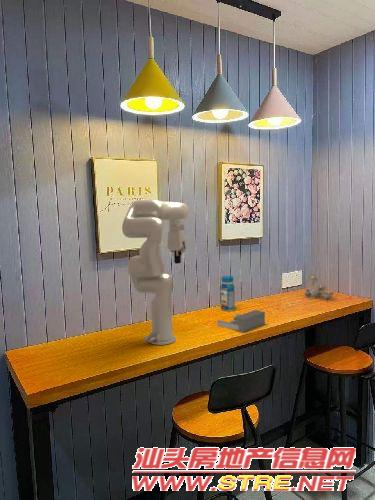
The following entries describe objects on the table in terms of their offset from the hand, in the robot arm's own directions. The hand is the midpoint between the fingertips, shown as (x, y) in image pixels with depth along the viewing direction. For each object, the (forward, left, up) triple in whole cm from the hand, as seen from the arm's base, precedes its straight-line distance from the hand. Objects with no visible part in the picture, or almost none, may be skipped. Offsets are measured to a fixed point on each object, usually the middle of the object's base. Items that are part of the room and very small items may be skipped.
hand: (177, 263), depth 196 cm
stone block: (+18, -28, -33) cm, 47 cm away
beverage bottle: (+37, -3, -32) cm, 49 cm away
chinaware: (+100, -28, -32) cm, 108 cm away
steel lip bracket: (+17, -28, -32) cm, 46 cm away
